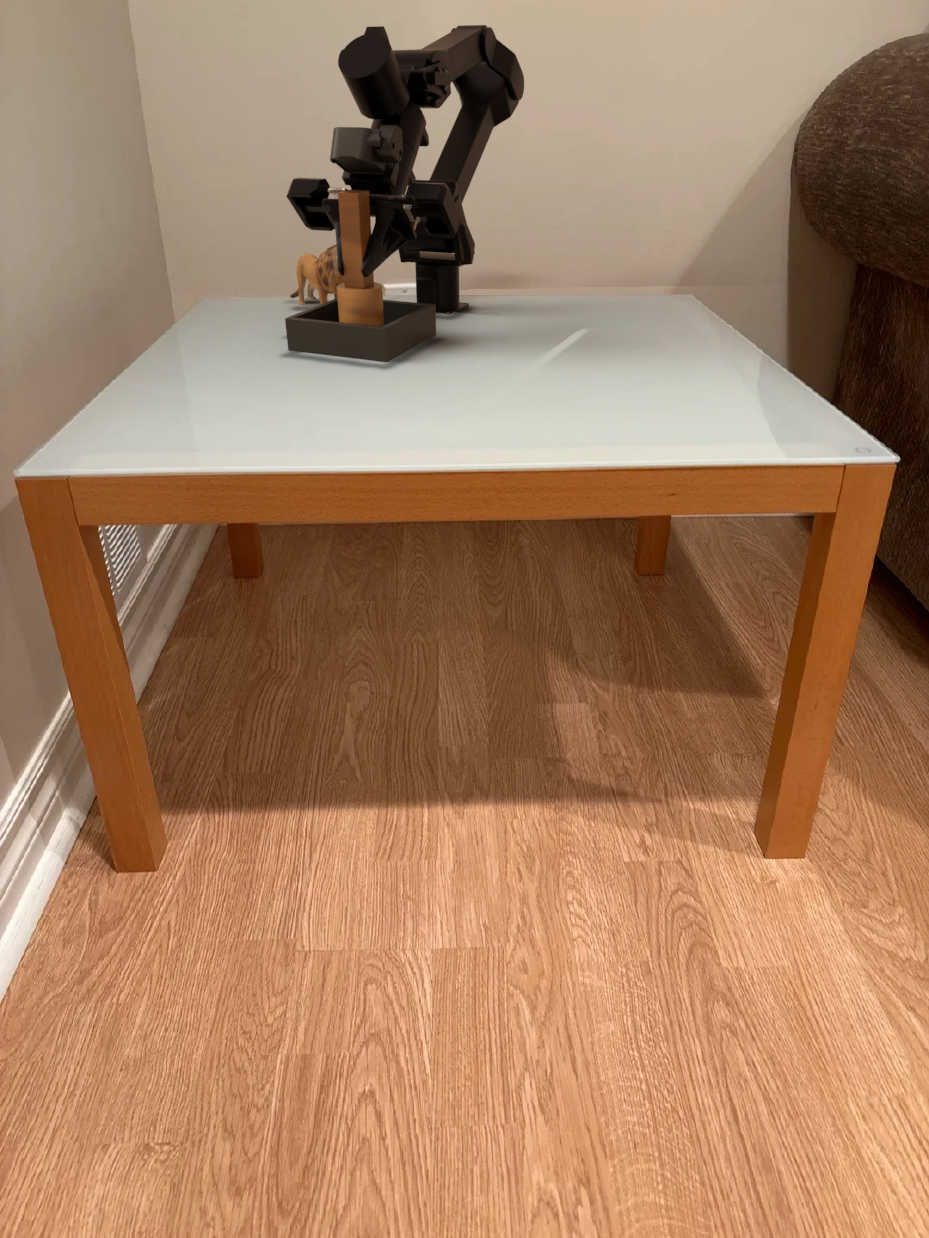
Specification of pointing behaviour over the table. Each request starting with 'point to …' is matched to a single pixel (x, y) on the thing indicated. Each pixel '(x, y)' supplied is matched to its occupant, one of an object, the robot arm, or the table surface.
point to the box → (361, 331)
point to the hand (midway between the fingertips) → (352, 274)
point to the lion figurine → (318, 275)
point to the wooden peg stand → (357, 263)
